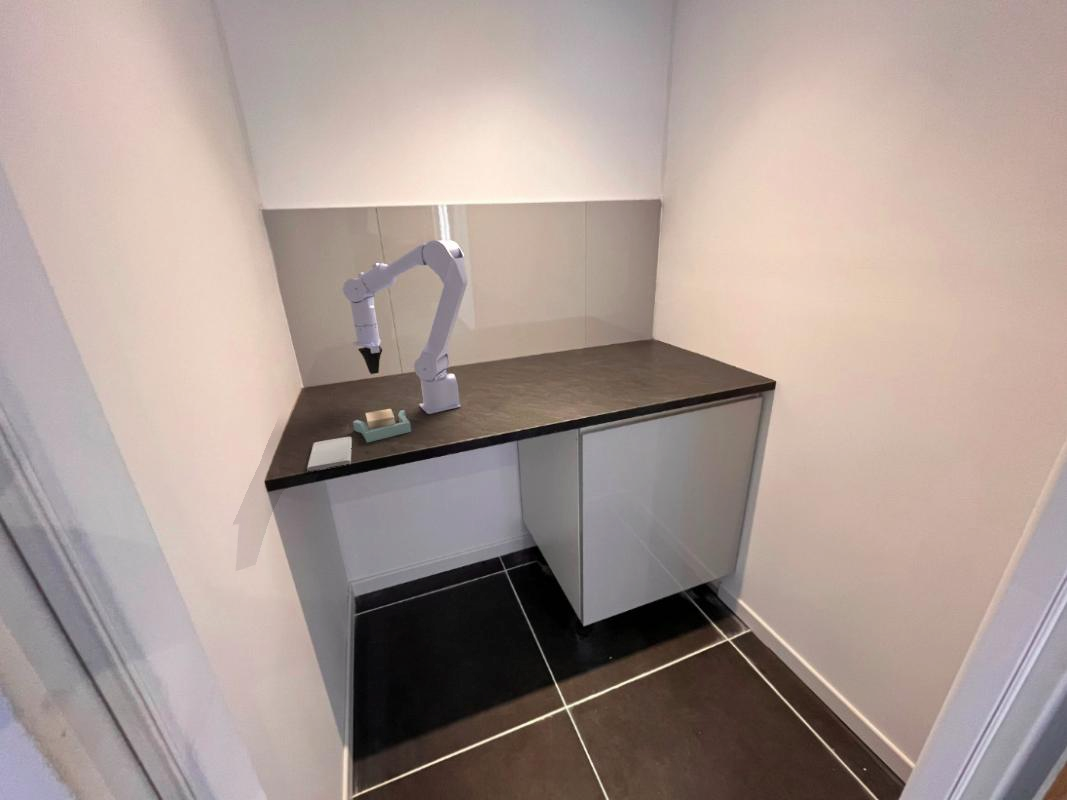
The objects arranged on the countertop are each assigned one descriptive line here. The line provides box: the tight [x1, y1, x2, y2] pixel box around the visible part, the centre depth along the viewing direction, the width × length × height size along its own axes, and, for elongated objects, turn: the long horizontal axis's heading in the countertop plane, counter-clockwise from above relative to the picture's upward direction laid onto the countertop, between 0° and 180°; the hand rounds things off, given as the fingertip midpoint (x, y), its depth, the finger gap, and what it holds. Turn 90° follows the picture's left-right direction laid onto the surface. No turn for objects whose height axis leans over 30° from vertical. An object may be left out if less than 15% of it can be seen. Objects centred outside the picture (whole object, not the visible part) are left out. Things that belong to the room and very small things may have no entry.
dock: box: [352, 409, 412, 443], centre depth 103 cm, size 13×9×2 cm
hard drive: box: [306, 436, 353, 471], centre depth 92 cm, size 2×8×12 cm
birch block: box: [365, 408, 396, 430], centre depth 102 cm, size 6×6×4 cm
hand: (374, 373), depth 117 cm, fingers closed
